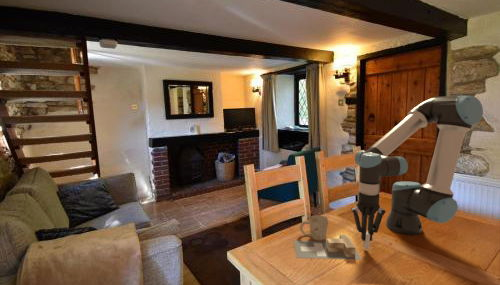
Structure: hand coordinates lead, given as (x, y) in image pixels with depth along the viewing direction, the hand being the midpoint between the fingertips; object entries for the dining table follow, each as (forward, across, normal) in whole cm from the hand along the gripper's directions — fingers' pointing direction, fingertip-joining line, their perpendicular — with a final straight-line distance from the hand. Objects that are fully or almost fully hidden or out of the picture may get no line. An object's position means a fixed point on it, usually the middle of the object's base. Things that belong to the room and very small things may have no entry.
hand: (366, 247), depth 105 cm
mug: (+3, +19, -11) cm, 22 cm away
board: (+3, +16, 0) cm, 17 cm away
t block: (+1, +11, 0) cm, 11 cm away
